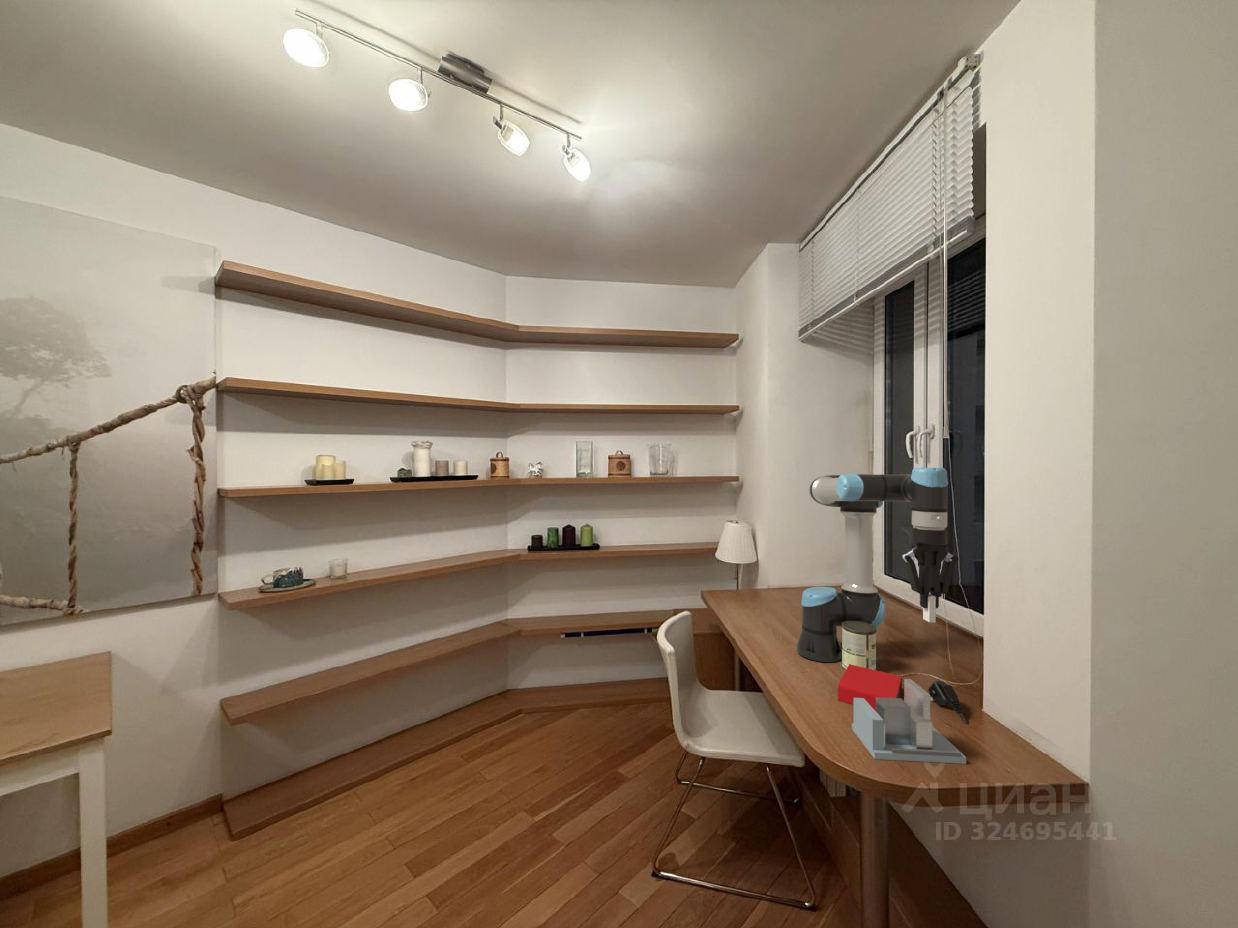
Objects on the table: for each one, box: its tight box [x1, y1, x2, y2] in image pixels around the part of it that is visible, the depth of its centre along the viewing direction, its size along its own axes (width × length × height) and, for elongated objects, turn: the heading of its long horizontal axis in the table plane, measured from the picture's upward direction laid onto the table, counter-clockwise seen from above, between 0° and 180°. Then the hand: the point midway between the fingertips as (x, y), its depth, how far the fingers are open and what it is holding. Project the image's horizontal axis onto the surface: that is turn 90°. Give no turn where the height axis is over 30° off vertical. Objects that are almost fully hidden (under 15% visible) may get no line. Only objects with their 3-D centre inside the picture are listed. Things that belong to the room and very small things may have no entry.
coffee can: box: [841, 621, 877, 671], centre depth 151 cm, size 10×10×14 cm
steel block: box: [876, 697, 911, 745], centre depth 109 cm, size 4×6×9 cm, turn 86°
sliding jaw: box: [903, 678, 933, 750], centre depth 109 cm, size 10×4×12 cm, turn 176°
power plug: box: [927, 680, 969, 725], centre depth 125 cm, size 6×8×12 cm
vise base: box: [851, 698, 967, 765], centre depth 109 cm, size 12×20×8 cm, turn 86°
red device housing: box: [837, 664, 903, 711], centre depth 133 cm, size 18×14×5 cm
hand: (929, 620), depth 115 cm, fingers closed
